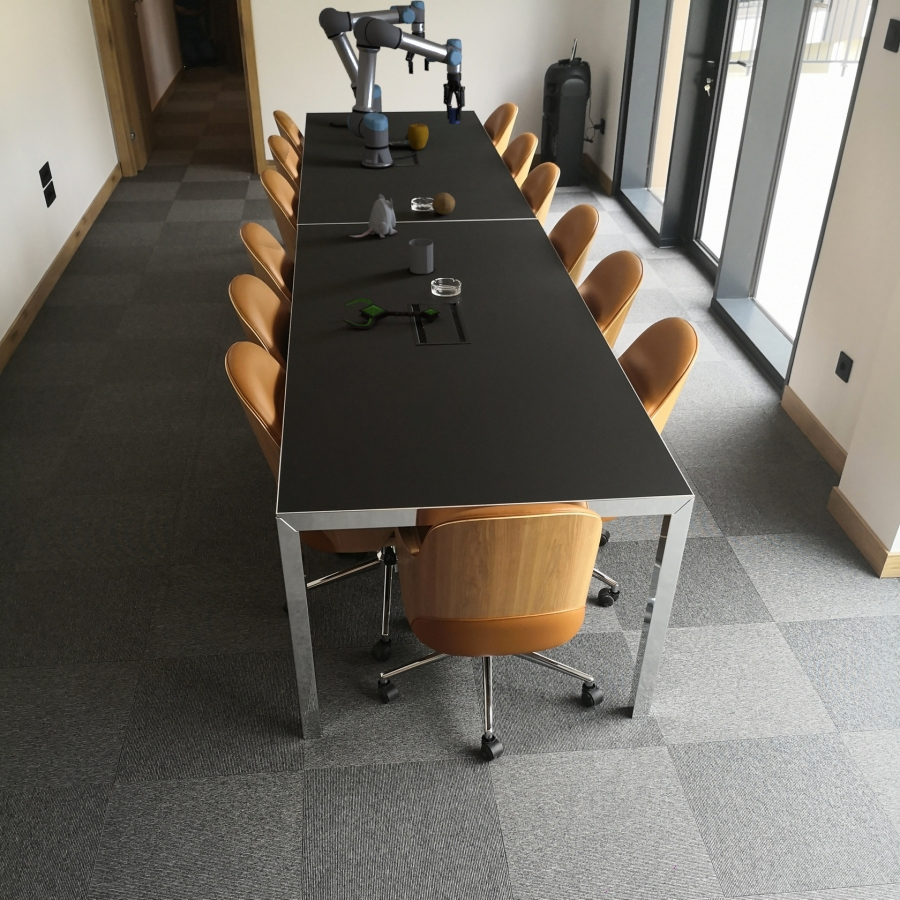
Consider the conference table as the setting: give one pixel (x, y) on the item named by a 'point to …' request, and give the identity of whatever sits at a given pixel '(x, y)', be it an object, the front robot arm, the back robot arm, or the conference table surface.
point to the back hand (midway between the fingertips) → (418, 72)
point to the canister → (453, 116)
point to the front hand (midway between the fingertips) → (454, 119)
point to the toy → (381, 218)
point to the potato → (443, 203)
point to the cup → (421, 256)
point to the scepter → (386, 313)
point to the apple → (417, 136)
